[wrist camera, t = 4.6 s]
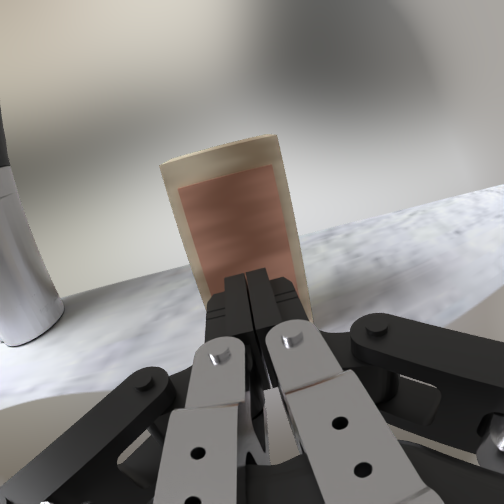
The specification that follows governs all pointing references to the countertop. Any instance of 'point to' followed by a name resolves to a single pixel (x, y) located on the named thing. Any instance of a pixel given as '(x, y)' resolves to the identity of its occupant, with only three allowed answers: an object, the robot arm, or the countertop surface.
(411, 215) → the countertop surface
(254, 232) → the birch block
